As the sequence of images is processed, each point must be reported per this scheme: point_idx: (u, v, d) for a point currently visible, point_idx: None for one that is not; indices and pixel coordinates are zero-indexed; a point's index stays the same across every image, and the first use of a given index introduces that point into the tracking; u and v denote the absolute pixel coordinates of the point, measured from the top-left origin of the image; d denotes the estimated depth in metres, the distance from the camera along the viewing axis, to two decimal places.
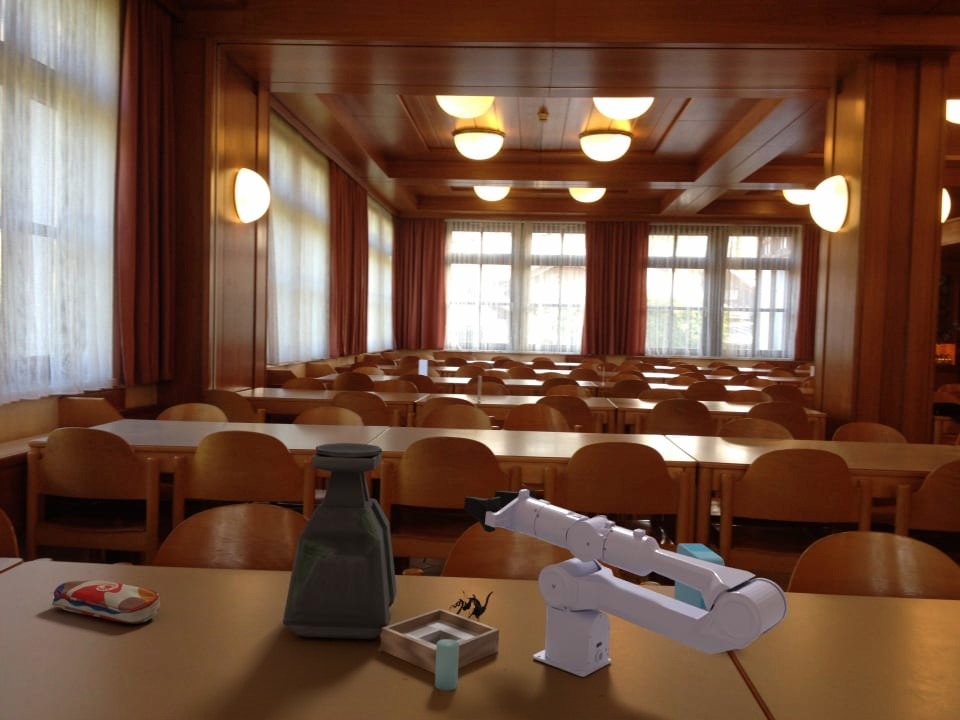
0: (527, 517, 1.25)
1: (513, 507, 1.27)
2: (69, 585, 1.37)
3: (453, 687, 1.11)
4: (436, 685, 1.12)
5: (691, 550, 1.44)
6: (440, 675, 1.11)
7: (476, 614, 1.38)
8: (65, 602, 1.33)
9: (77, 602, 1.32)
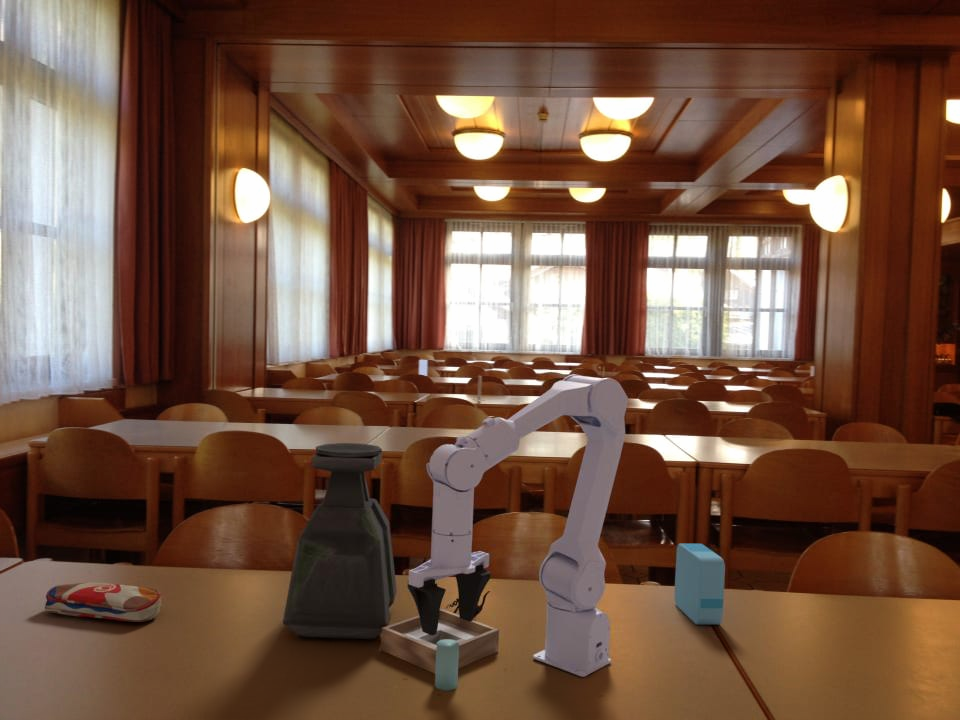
0: None
1: (471, 561, 1.13)
2: (61, 588, 1.35)
3: (453, 687, 1.11)
4: (436, 685, 1.12)
5: (691, 550, 1.44)
6: (440, 675, 1.11)
7: None
8: (62, 605, 1.31)
9: (76, 605, 1.31)
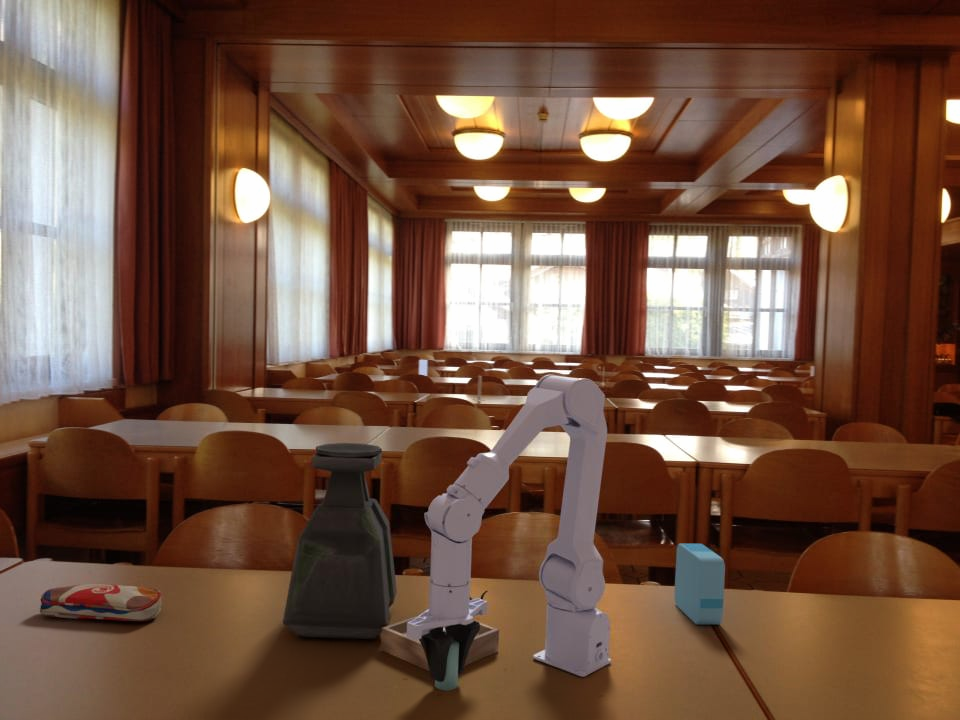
0: None
1: (469, 610, 1.13)
2: (55, 591, 1.33)
3: (453, 687, 1.11)
4: (436, 685, 1.12)
5: (691, 550, 1.44)
6: None
7: None
8: (60, 608, 1.30)
9: (75, 607, 1.30)
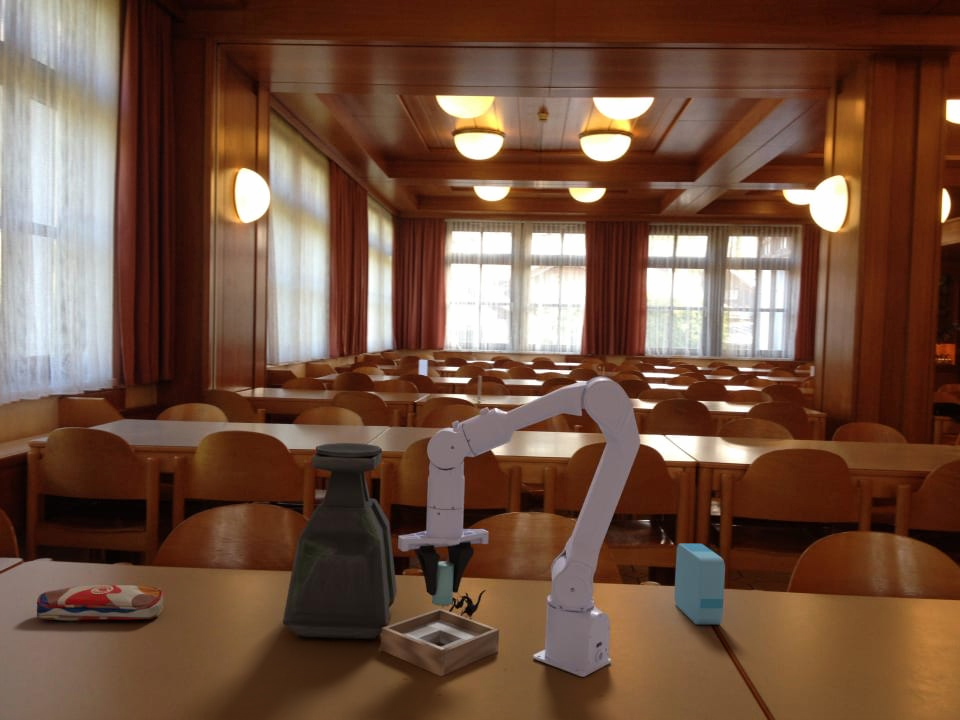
0: None
1: (463, 535, 1.24)
2: (51, 594, 1.32)
3: (444, 604, 1.22)
4: (432, 600, 1.24)
5: (691, 550, 1.44)
6: None
7: (468, 612, 1.38)
8: (60, 611, 1.29)
9: (77, 609, 1.29)
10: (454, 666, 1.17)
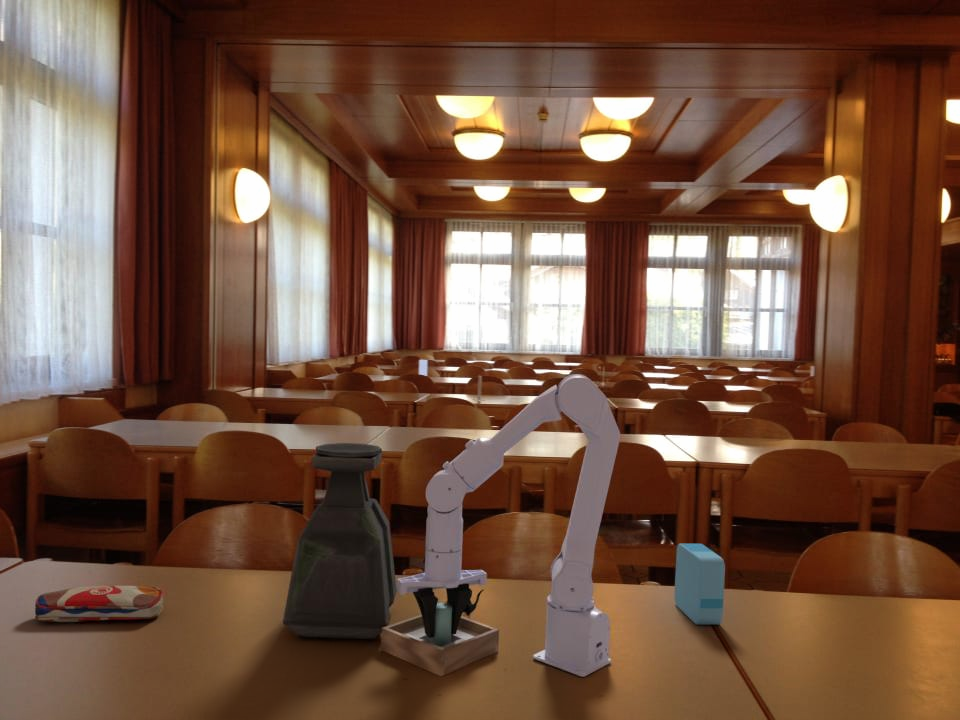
0: None
1: (462, 577, 1.24)
2: (49, 596, 1.31)
3: None
4: (430, 642, 1.24)
5: (691, 550, 1.44)
6: None
7: (467, 612, 1.39)
8: (60, 612, 1.28)
9: (77, 610, 1.29)
10: (454, 666, 1.17)
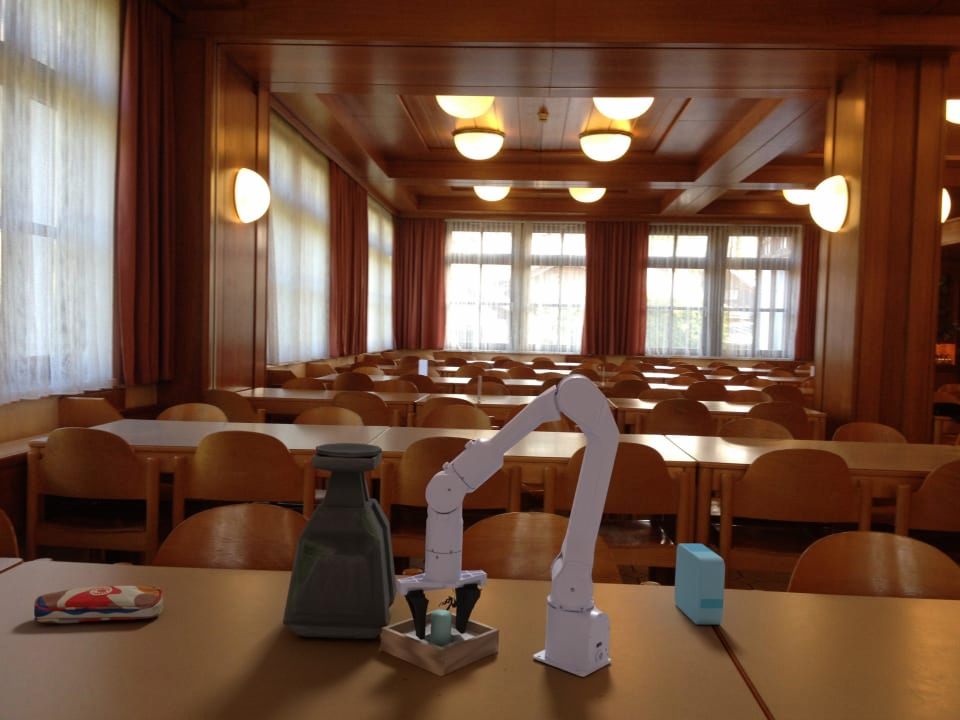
0: None
1: (462, 578, 1.24)
2: (48, 598, 1.30)
3: None
4: None
5: (691, 550, 1.44)
6: (431, 640, 1.23)
7: None
8: (61, 613, 1.28)
9: (78, 610, 1.28)
10: (454, 666, 1.17)
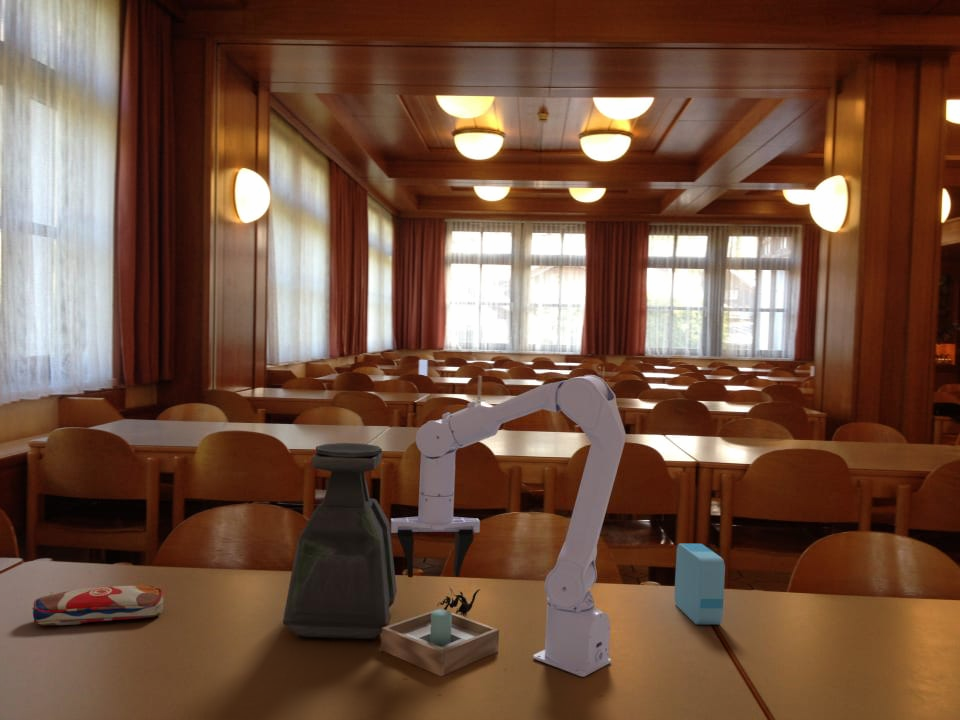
0: (453, 502, 1.30)
1: (452, 522, 1.29)
2: (46, 600, 1.29)
3: None
4: None
5: (691, 550, 1.44)
6: (431, 640, 1.23)
7: (462, 611, 1.39)
8: (63, 615, 1.27)
9: (80, 612, 1.28)
10: (454, 666, 1.17)
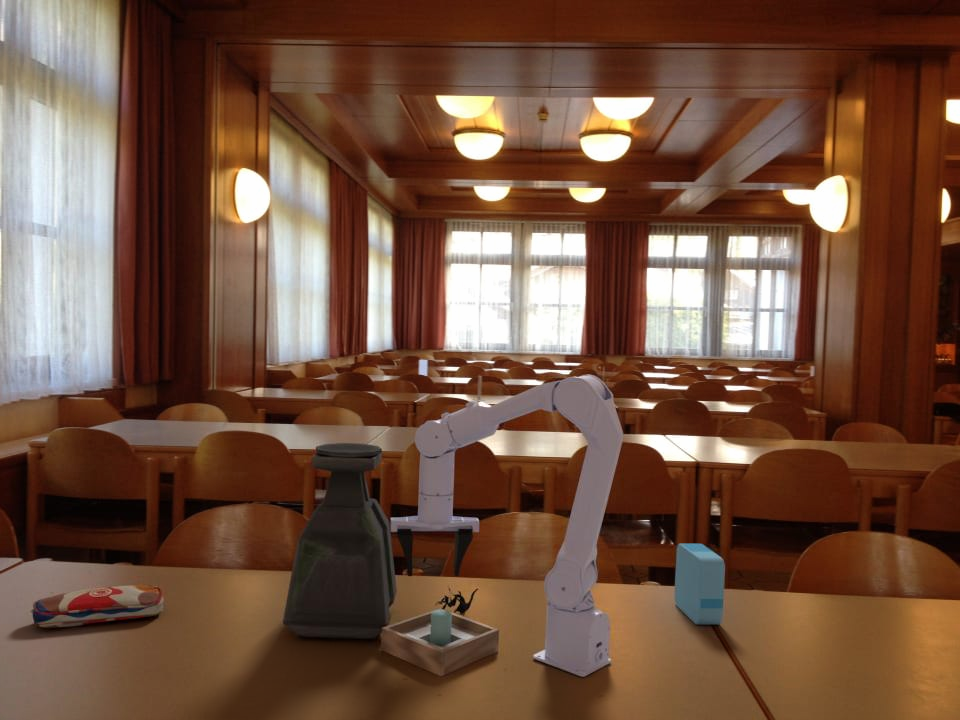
0: (452, 502, 1.30)
1: (451, 522, 1.30)
2: (46, 602, 1.28)
3: None
4: None
5: (691, 550, 1.44)
6: (431, 640, 1.23)
7: (460, 611, 1.39)
8: (65, 617, 1.26)
9: (82, 613, 1.27)
10: (454, 666, 1.17)
